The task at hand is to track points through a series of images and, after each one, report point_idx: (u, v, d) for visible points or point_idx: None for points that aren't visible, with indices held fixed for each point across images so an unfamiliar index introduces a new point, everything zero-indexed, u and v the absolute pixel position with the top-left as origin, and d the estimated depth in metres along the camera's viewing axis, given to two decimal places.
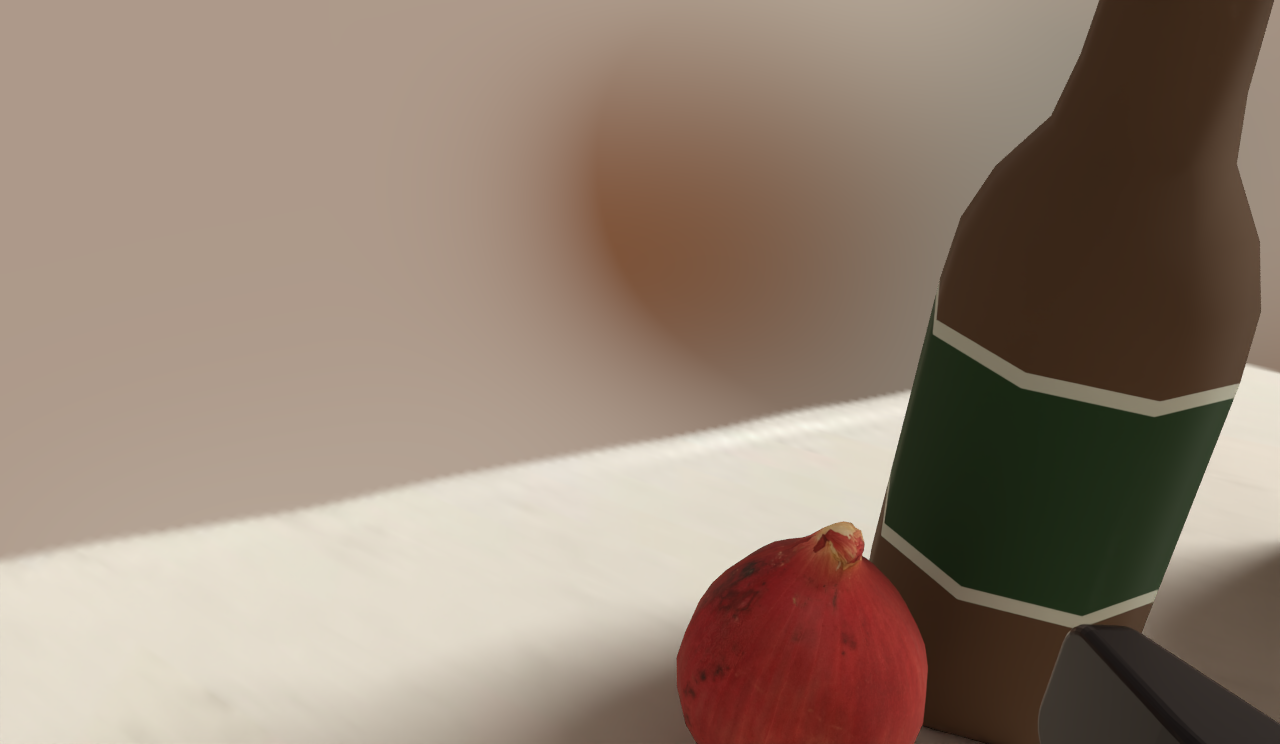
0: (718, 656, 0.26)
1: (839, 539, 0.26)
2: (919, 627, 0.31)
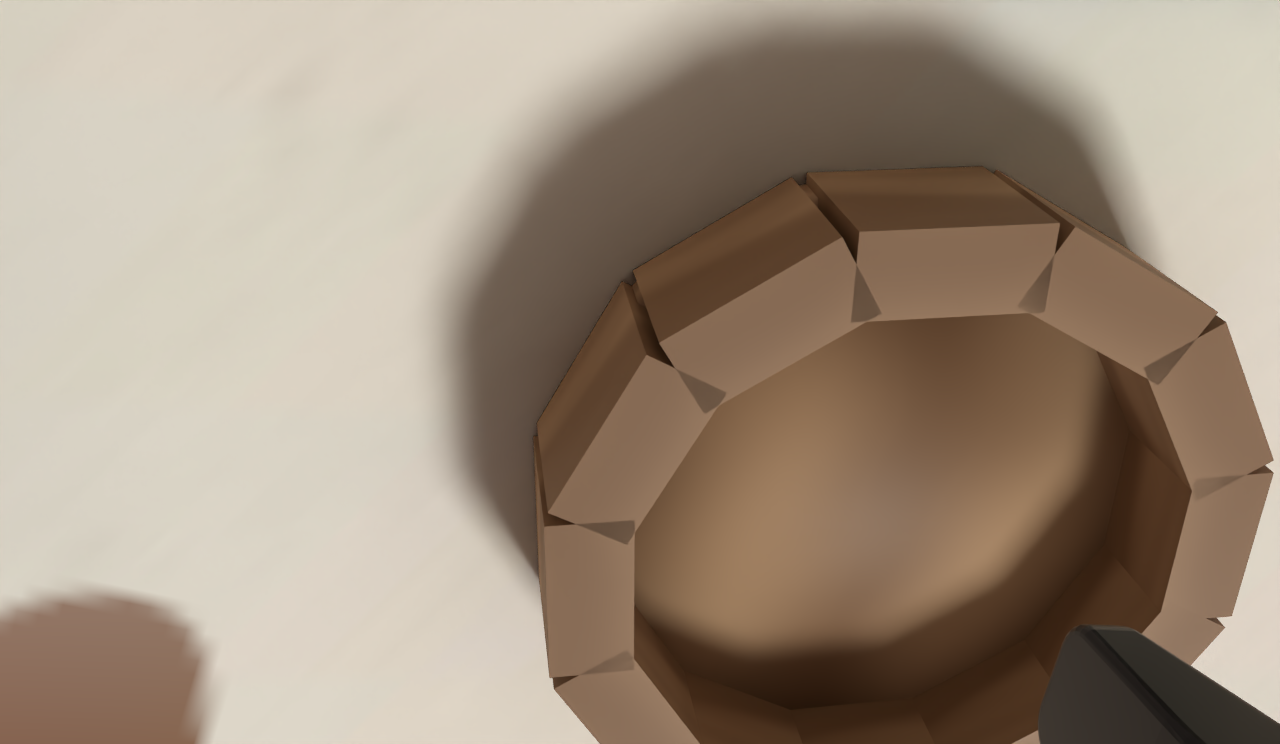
0: None
1: None
2: None
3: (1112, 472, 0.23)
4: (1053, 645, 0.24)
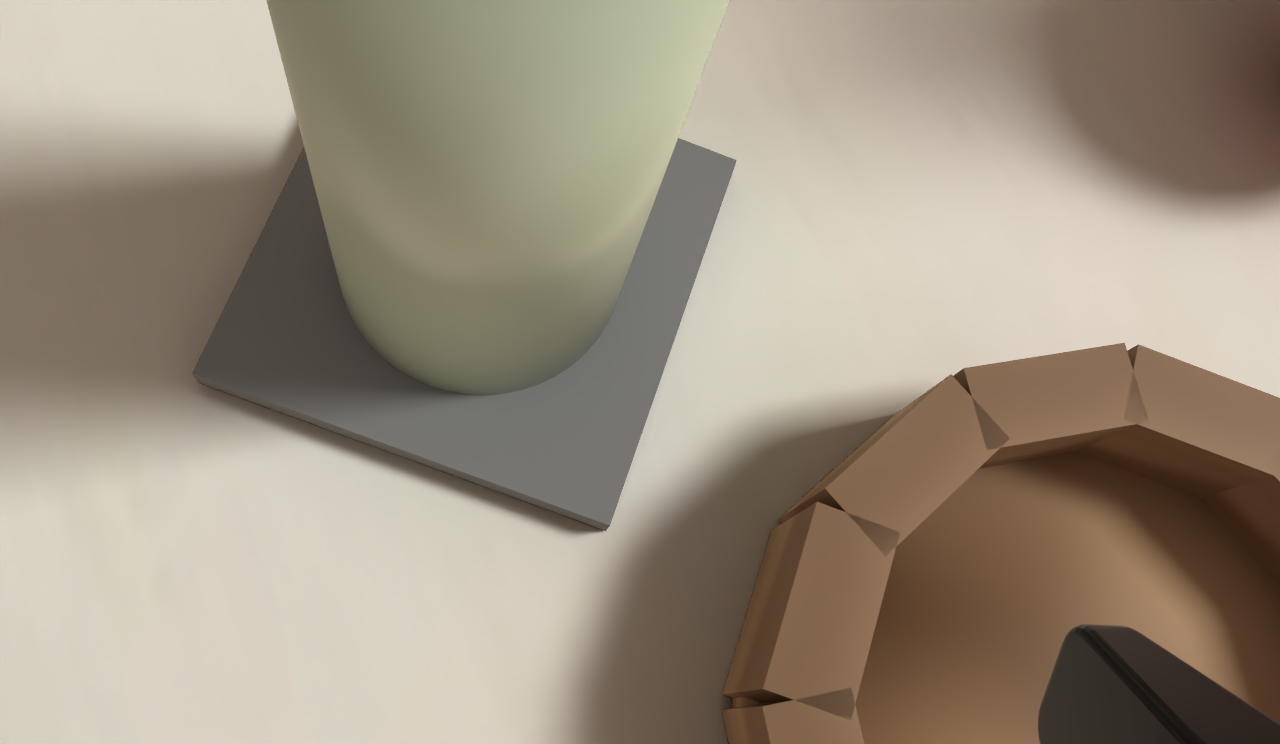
0: None
1: None
2: None
3: (1118, 475, 0.23)
4: None
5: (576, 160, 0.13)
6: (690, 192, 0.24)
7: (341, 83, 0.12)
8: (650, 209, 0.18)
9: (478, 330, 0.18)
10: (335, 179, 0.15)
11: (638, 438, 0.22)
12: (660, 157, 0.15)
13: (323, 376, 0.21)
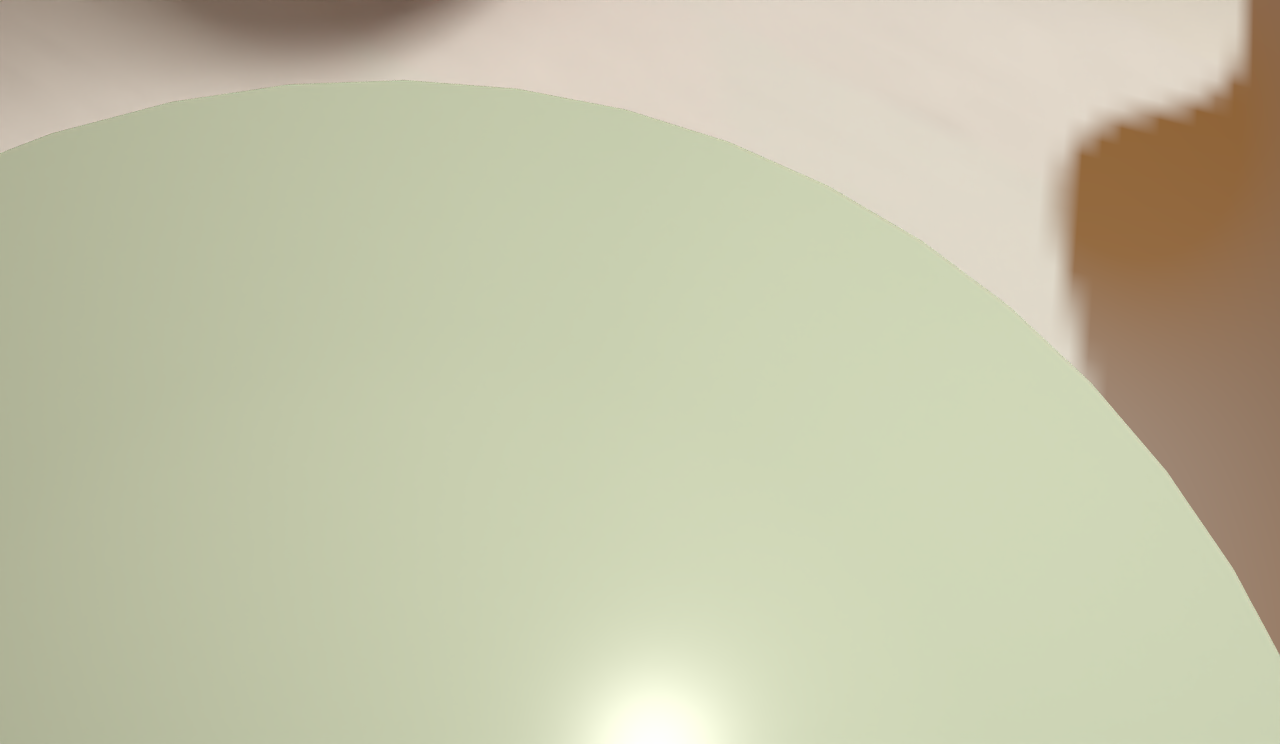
0: None
1: None
2: None
3: None
4: None
5: None
6: None
7: None
8: None
9: None
10: None
11: None
12: None
13: None
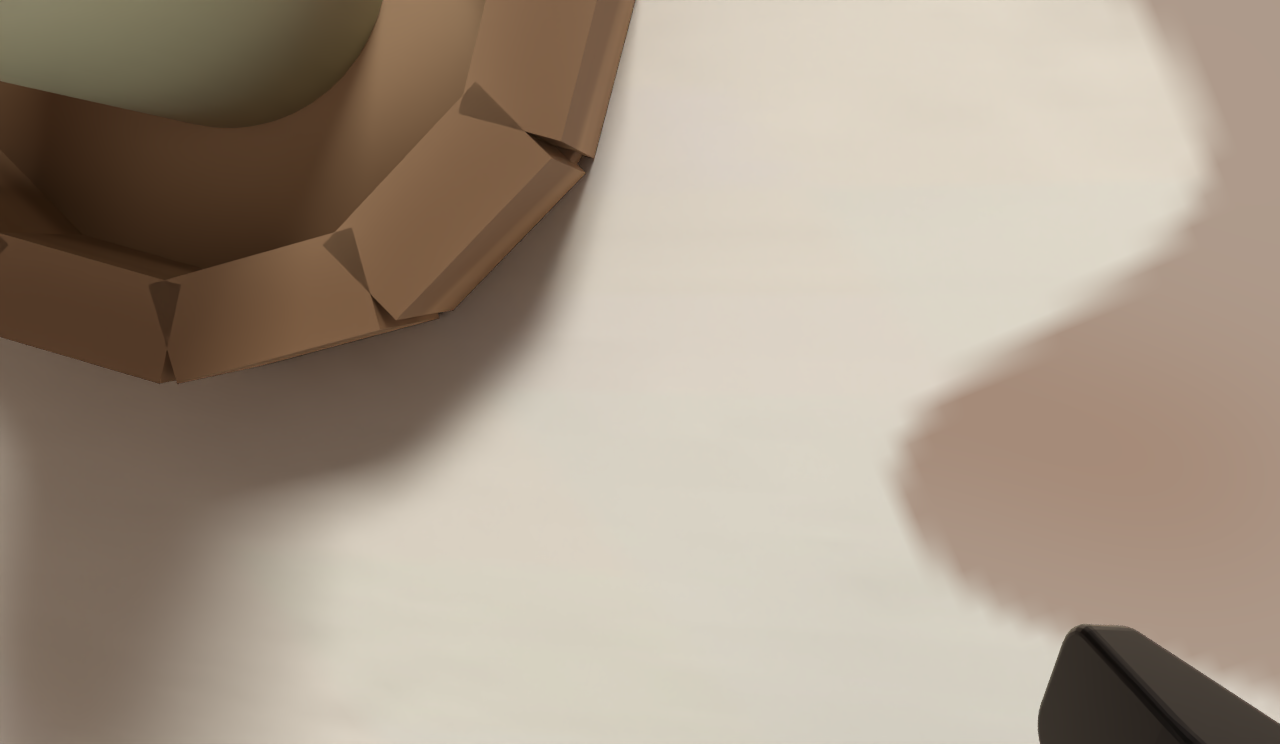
0: None
1: None
2: None
3: None
4: None
5: None
6: None
7: None
8: None
9: (209, 61, 0.15)
10: None
11: None
12: None
13: None
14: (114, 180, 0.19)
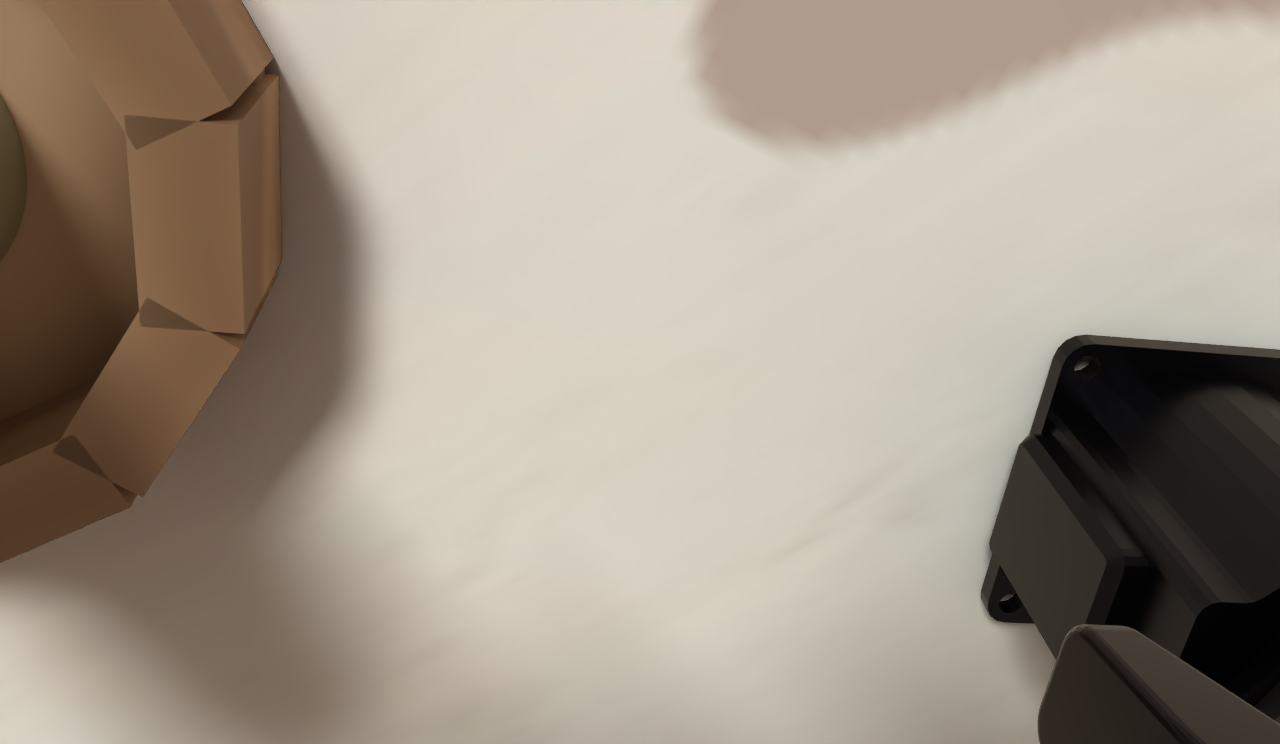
0: None
1: None
2: None
3: None
4: None
5: None
6: None
7: None
8: None
9: None
10: None
11: None
12: None
13: None
14: None
